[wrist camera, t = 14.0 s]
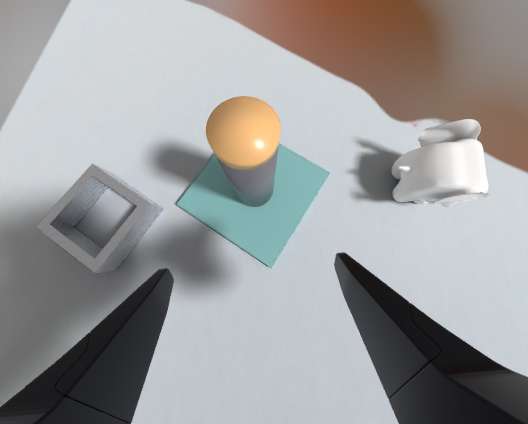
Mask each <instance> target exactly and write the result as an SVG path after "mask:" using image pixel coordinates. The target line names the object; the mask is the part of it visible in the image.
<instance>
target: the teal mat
mask: <svg viewBox="0 0 528 424" xmlns="http://www.w3.org/2000/svg"><path fill="white" fill-rule="evenodd" d="M329 174H330V172H328V171H326V170H324V169H323V168H321V167H319V166H317V165H316V164H314V163H312V162H310V161H309V160H307V159H305V158H303V157H302V156H300V155H298V154H297V153H295V152H293V151H291V150H290V149H288V148H286V147H284V146H283V145H281V144H279V147H278V155H277V163H276V171H275V180H274V188H273V194H272V196H271V198H270V200H269V201H268V202H267V203H265V204H264V205H262V206H259V207H250V206H247V205H245V204H243V203H242V202H241V201H240V200H239V199H238V197H237V195H236V193H235V191H234V189H233V188H232V186H231V184H230V182H229V180H228V178H227V176H226V174H225V173H224V171H223V169H222V167H221V165H220V163H219V161H218V159H217V157H216V156H215V154H214V156H213V157H212V158H211V160H210V161H209V162H208V164H207V165H206V166H205V168H204V169H203V170H202V172H201V173H200V174H199V175H198V177H197V178H196V179H195V181H194V182H193V183H192V185H191V186H190V187H189V189H188V190H187V191H186V193H185V194H184V195H183V196H182V198H181V199H180V200H179V202H178V203H177V205H178V206H180V207H181V208H183V209H184V210H186V211H187V212H189V213H190V214H192V215H193V216H195V217H196V218H198V219H199V220H200V221H202V222H203V223H205V224H206V225H208V226H209V227H211V228H212V229H214V230H215V231H217V232H218V233H220V234H221V235H223V236H224V237H226V238H227V239H229V240H230V241H232V242H233V243H235V244H236V245H238V246H239V247H241V248H242V249H244V250H245V251H247V252H248V253H250V254H251V255H253V256H254V257H256V258H257V259H259V260H260V261H262V262H263V263H264V264H266V265H267V266H269V267H270V268H272V266H273V264H274V263H275V261H276V260H277V258H278V256H279V255H280V253H281V251H282V250H283V248H284V247H285V245H286V243H287V242H288V240H289V238H290V237H291V235H292V234H293V232H294V230H295V229H296V227H297V226H298V224H299V222H300V221H301V219H302V217H303V216H304V214H305V213H306V211H307V209H308V208H309V206H310V204H311V203H312V201H313V200H314V198H315V196H316V195H317V193H318V191H319V190H320V188H321V187H322V185H323V183H324V182H325V180H326V178H327V177H328V175H329Z"/></svg>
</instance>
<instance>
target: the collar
mask: <svg viewBox="0 0 528 424" xmlns="http://www.w3.org/2000/svg"><path fill="white" fill-rule="evenodd" d="M108 187H110V188H112V189H113V190H114V191H116V192H117V193H119V194H120V195H122V196H123V197H125V198H126V199H127V200H129V201H130V202H132V203H133V204H135V205H136V206H137V207H136V208H135V210H134V211H133V212H132V213H131V215H130V216H129V217H128V218H127V220H126V221H125V222H124V223H123V224H122V226H121V227H120V228H119V229H118V231H117V232H116V233H115V234H114V236H113V237H112V238H111V239H110V241H109V242H108V243H107V244H106V246H105V247H104V248H103V249H102V248H101V247H100V246H98V245H97V244H96V243H94V242H93V241H92V240H90V239H89V238H88V237H86V236H85V235H84V234H82V233H81V232H80V231H78V230H77V229H76V228H74V227H75V225H76V224H77V223H78V222H79V221H80V220H81V218H82V217H83V216H84V215H85V214H86V213H87V211H88V210H89V209H90V208H91V207H92V206H93V204H94V203H95V202H96V201H97V200H98V199H99V197H100V196H101V195H102V194H103V193H104V192H105V190H106V189H107V188H108ZM162 210H163V208H162V207H160V206H159V205H157V204H156V203H154V202H153V201H151V200H150V199H148V198H147V197H145V196H144V195H143V194H141V193H140V192H138V191H137V190H135V189H134V188H132V187H131V186H129V185H128V184H126V183H125V182H124V181H122V180H121V179H119V178H118V177H116V176H115V175H113V174H112V173H110V172H108V171H106V170H104V169H102V168H100V167H98V166H96V165H94V164H92V165H91V166H90V167H89V168H88V169H87V170H86V171H85V172H84V174H83V175H82V176H81V177H80V178H79V179H78V180H77V181H76V182H75V184H74V185H73V186H72V187H71V188H70V189H69V190H68V191H67V193H66V194H65V195H64V196H63V197H62V198H61V199H60V200H59V201H58V203H57V204H56V205H55V206H54V207H53V208H52V209H51V210H50V212H49V213H48V214H47V215H46V216H45V217H44V218H43V219H42V220H41V222H40V223H39V224H38V225H37V226H36V228H37V229H39V230H40V231H41V232H43V233H44V234H45V235H46V236H48V237H49V238H50V239H51V240H53V241H54V242H55V243H57V244H58V245H59V246H60V247H62V248H63V249H64V250H66V251H67V252H68V253H69V254H71V255H72V256H73V257H75V258H76V259H77V260H78V261H80V262H81V263H82V264H84V265H85V266H86V267H87V268H89V269H90V270H91V271H92V272H94V273H103V272H110V271H116V269H117V268H118V267H119V266H120V264H121V263H122V262H123V260H124V259H125V258H126V257H127V255H128V254H129V253H130V251H131V250H132V249H133V247H134V246H135V245H136V244H137V242H138V241H139V240H140V238H141V237H142V236H143V235H144V233H145V232H146V231H147V229H148V228H149V227H150V225H151V224H152V223H153V222H154V220H155V219H156V218H157V216H158V215H159V214H160V213H161V211H162Z"/></svg>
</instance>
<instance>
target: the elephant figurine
mask: <svg viewBox="0 0 528 424" xmlns="http://www.w3.org/2000/svg"><path fill="white" fill-rule="evenodd" d="M479 133H480V125H479V123H478V122H477V121H475V120H473V119H467V120H460V121H455V122H450V123H446V124H443V125H439V126H435V127H431V128H427V129H425V130H424V131H423V132H422V134H421V135H420V137H419V139H418V140H419V141H420V145H421V148H419V149H416V150H413V151H410V152H408V153H406V154H404V155H402V156H401V157H399V158H398V159H397V160H396V161H395V163H394V165H393V167H392V175H393V177H395V178H396V179H401V180H400V182H399V183H398V185H397V186H396V187H395V189H394V190H393V198H394V199H395V200H396V201H398V202H407V201H413V202H415V203H417V204H435V203H439V204H441V205H443V206H446V207H449V206H452V205H454V204H457V203H460V202H464V201H468V200H474V199H477V198H482V197H488V196H490V195H489V194H487V193H486V192H487V190H488V182H487V176H486V169H485V162H484V155H483V148H482V145H481V143H480V142H479V141H477V140H476V139H477V137H478V135H479Z"/></svg>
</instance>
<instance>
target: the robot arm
mask: <svg viewBox="0 0 528 424" xmlns="http://www.w3.org/2000/svg"><path fill="white" fill-rule="evenodd" d="M334 266H335V270H336V273H337V276H338V280H339V283H340V286H341V289H342V292H343V295H344V298H345V300H346V302H347V305H348V307H349V309H350V312H351V314H352V316H353V319H354V321H355V323H356V325H357V328H358V330H359V332H360V335H361V337H362V339H363V342H364V344H365V346H366V349H367V351H368V353H369V355H370V358H371V360H372V362H373V365H374V367H375V369H376V372H377V374H378V376H379V378H380V381H381V383H382V385H383V388H384V390H385V392H386V395H387V397H388V399H389V402H390V404H391V406H392V409H393V411H394V413H395V416H396V418H397V420H398V423H399V424H528V377H526V376H524V375H521V374H519V373H516V372H514V371H512V370H510V369H508V368H506V367H504V366H502V365H500V364H498V363H497V362H495V361H493V360H492V359H490V358H488V357H487V356H485V355H484V354H482V353H481V352H479V351H478V350H476V349H475V348H473V347H472V346H470V345H469V344H468V343H466V342H465V341H463V340H462V339H460V338H459V337H457V336H456V335H454V334H453V333H451V332H450V331H448V330H447V329H445V328H444V327H442V326H441V325H440V324H438V323H437V322H435V321H434V320H432V319H431V318H430V317H428V316H427V315H426V314H424V313H423V312H422V311H420V310H419V309H418V308H416V307H415V306H414V305H412V304H411V303H409V302H408V301H407V300H406V299H405V298H403V297H402V296H401V295H399V294H398V293H397V292H395V291H394V290H393V289H392V288H390V287H389V286H388V285H386V284H385V283H384V282H383V281H381V280H380V279H379V278H377V277H376V276H375V275H373V274H372V273H371V272H370V271H368V270H367V269H366V268H364V267H363V266H362V265H360V264H359V263H358V262H357V261H355V260H354V259H353V258H351V257H350V256H349V255H347V254H346V253H337V254H336V258H335V263H334ZM173 282H174V279H173V276H172V275H171V273H170V271H169V269H167V268H165V269H159V270H158V271H157V272H156V273H154V274H153V275H152V276H151V277H150V278H149V279H148V280H147V281H146V282H144V283H143V284H142V285H141V286H140V287H139V288H138V289H137V290H136V291H135V292H133V293H132V294H131V295H130V296H129V297H128V298H127V299H126V300H125V301H123V302H122V303H121V304H120V305H119V306H118V307H117V308H116V309H115V310H114V311H112V312H111V313H110V314H109V315H108V316H107V317H106V318H105V319H104V320H103V321H101V322H100V323H99V324H98V325H97V326H96V327H95V328H94V329H93V330H91V332H90V333H88V334H87V335H86V336H85V337H84V338H83V339H81V340H80V341H79V342H78V343H77V344H76V345H75V346H74V347H72V348H71V349H70V350H69V351H68V352H67V353H66V354H64V355H63V356H62V357H61V358H60V359H59V360H57V361H56V362H55V363H54V364H53V365H51V366H50V367H49V368H48V369H47V370H45V371H44V372H43V373H42V374H40V375H39V376H38V377H37V378H36V379H34V380H33V381H32V382H31V383H29V384H28V385H27V386H26V387H25V388H23V389H22V390H21V391H20V392H18V393H17V394H16V395H15V396H14V397H12V398H11V399H10V400H9V401H7V402H6V403H5V404H4V405H2V406H1V407H0V424H131V422H132V419H133V416H134V413H135V410H136V407H137V404H138V401H139V397H140V394H141V391H142V388H143V385H144V382H145V379H146V376H147V373H148V370H149V366H150V363H151V360H152V357H153V354H154V351H155V348H156V345H157V342H158V339H159V335H160V332H161V329H162V326H163V323H164V320H165V317H166V314H167V310H168V306H169V301H170V296H171V292H172V287H173Z"/></svg>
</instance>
